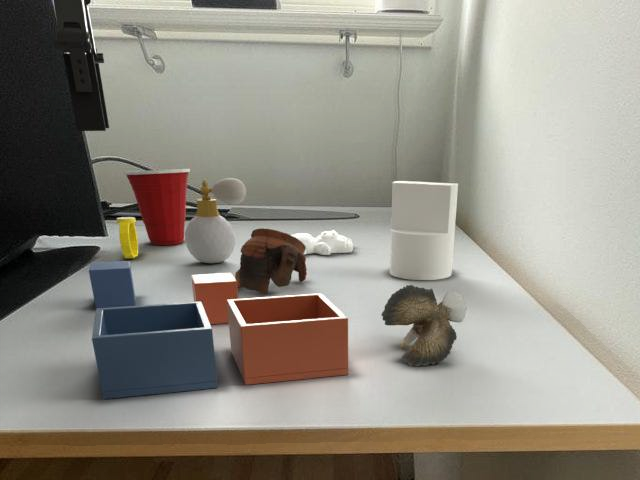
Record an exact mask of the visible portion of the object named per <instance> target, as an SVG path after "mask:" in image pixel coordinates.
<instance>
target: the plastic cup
mask: <svg viewBox="0 0 640 480" xmlns="http://www.w3.org/2000/svg"><path fill="white" fill-rule="evenodd" d="M190 171H191V169H190V168H177V169H173V168H172V169H156V170H135V171H124V172H123V174H124V176H126V178H127V180H128V182H129V184H130V187H131V189H132V191H133V194H134V197H135V200H136V204H137V206H138V209H139V213H140V216H141V219H142V220H141V221H142V223H143V224H144V228H145V231H146V234H147V237H148V240H149V242H150V244H151V245H155V246H174V245H179V244H182V243H184V241H185V231H186V227H185V224H186V215H187V213H186V211H187V189H188V178H189V173H190Z"/></svg>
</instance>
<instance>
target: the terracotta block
mask: <svg viewBox="0 0 640 480" xmlns="http://www.w3.org/2000/svg"><path fill="white" fill-rule="evenodd" d="M190 278H191V279H190V280H191V288H192V297H193V302H200V301H201V302H202V305H203V307H204V310H205V312H206V315H207V318H208V320H209V323H210V325H222V324H229V322H228V311H227V300H229V299H239V291H238V289H239V288H237V281H236V279H235V275H234V274H233V273H232V272H215V273H199V274H191V275H190Z"/></svg>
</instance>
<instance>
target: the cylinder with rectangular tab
mask: <svg viewBox="0 0 640 480" xmlns="http://www.w3.org/2000/svg"><path fill="white" fill-rule="evenodd" d="M458 191H459V183H451V182H433V181H414V180H413V181H411V180H395V181H392V183H391V211H390V212H391V213H390V248H389V249H390V250H389V275H391V276H392V277H394V278H398V279H404V280H409V281H411V280H412V281H437V280H443V279H447V278H449V277H451V276H452V275H453V273H452V272H453V263H454V262H453V260H454V246H455V245H454V244H455V235H456V233H455V232H456V219H457V218H456V217H457V207H458V204H457V203H458Z"/></svg>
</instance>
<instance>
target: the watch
mask: <svg viewBox="0 0 640 480" xmlns="http://www.w3.org/2000/svg"><path fill="white" fill-rule="evenodd" d="M136 222H137V220H136V217H135V216H121V217H116V223H117V224H119V225H118V226H119V227H118V229H119V230H118V231H119V233H118V234H119V242H120V248H121V252H122V255H123V257H124V258H125V259H135V258H137V257H138V256H139V241H138V240H139V239H138V231H137V228H136V225H135V223H136Z"/></svg>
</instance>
